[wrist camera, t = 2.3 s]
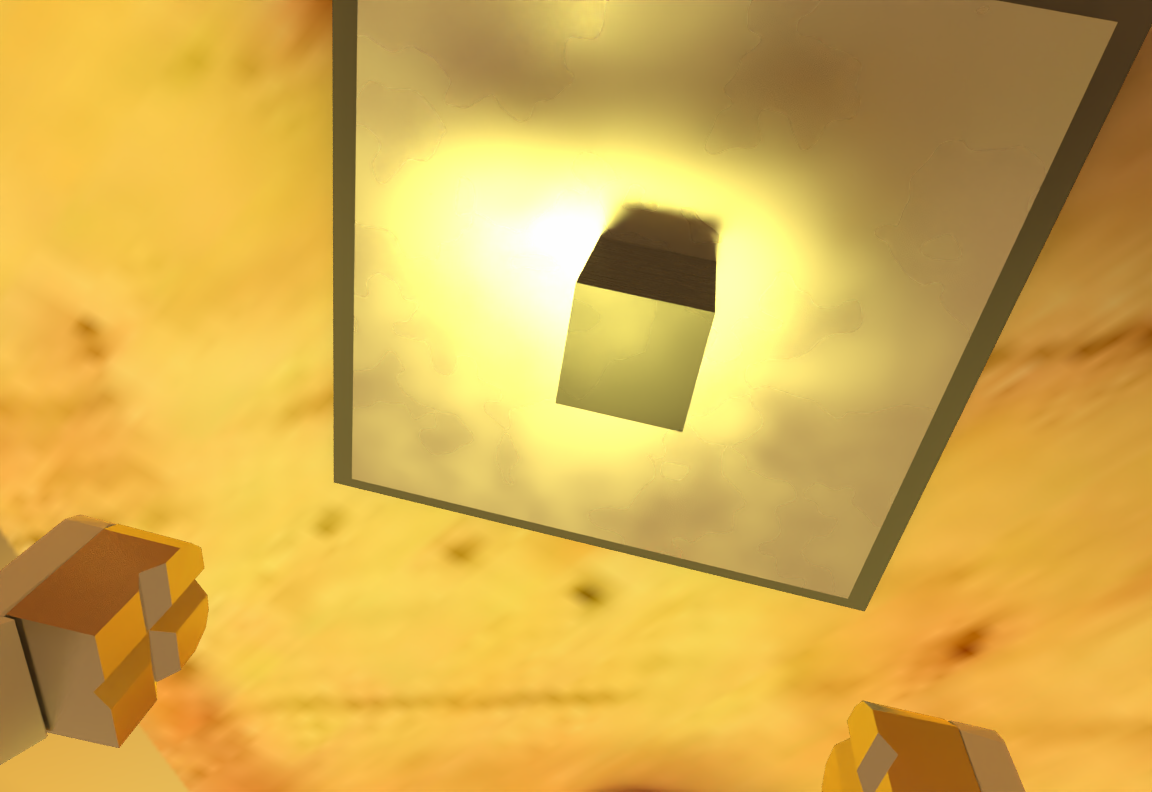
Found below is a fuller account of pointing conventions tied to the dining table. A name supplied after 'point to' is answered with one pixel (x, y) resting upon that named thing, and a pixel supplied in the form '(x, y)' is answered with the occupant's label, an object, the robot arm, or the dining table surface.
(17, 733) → the robot arm
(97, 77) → the dining table surface
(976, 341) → the rubber mat
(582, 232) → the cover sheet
